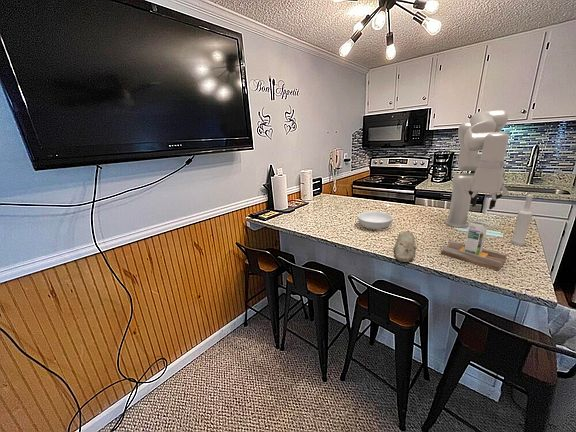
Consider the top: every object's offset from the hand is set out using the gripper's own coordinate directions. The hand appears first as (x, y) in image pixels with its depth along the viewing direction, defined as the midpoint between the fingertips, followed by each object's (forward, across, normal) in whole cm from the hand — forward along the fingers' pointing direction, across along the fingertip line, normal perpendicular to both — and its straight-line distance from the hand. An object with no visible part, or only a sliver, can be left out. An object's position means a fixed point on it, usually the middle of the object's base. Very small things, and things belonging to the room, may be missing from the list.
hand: (482, 206), depth 106 cm
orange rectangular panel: (+23, 0, 0) cm, 23 cm away
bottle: (+25, -11, -31) cm, 41 cm away
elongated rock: (+25, +26, +11) cm, 38 cm away
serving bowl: (+25, +54, -5) cm, 59 cm away
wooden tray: (+24, 0, 0) cm, 24 cm away
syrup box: (+22, 0, 0) cm, 22 cm away
